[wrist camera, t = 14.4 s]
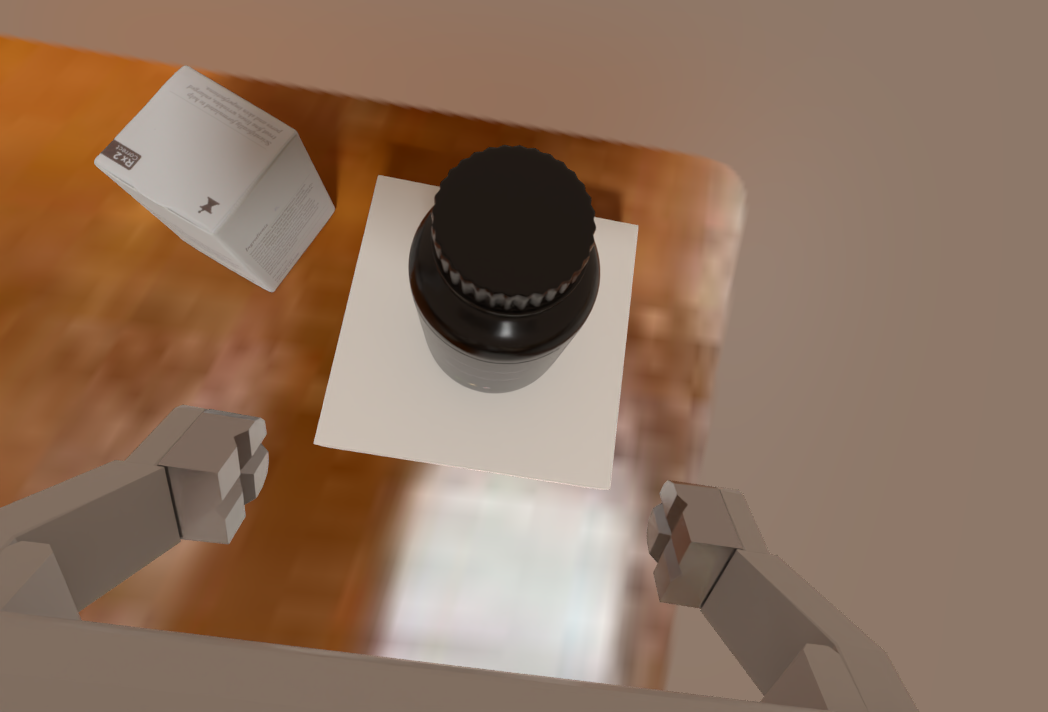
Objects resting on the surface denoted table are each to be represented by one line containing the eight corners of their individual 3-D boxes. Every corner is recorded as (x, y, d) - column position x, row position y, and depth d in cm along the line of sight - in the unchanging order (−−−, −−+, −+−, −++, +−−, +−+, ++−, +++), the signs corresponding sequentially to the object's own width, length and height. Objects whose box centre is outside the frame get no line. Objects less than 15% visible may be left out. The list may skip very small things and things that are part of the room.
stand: (328, 447, 28) (313, 443, 25) (385, 203, 31) (378, 174, 28) (594, 488, 29) (609, 489, 26) (622, 248, 32) (638, 225, 29)
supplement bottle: (450, 247, 28) (444, 77, 16) (576, 289, 28) (660, 153, 16) (403, 371, 26) (358, 283, 14) (538, 416, 26) (600, 364, 15)
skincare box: (338, 210, 31) (301, 128, 24) (273, 296, 29) (212, 236, 22) (247, 156, 31) (183, 58, 24) (177, 239, 29) (86, 162, 22)
